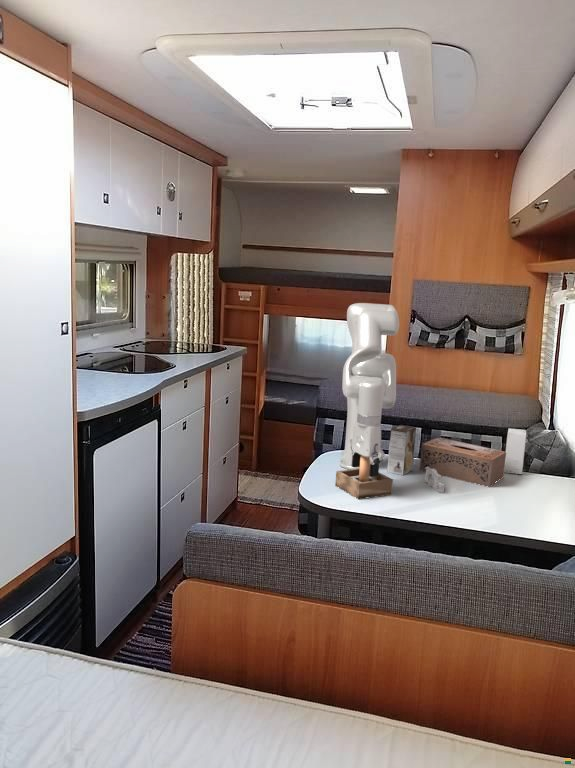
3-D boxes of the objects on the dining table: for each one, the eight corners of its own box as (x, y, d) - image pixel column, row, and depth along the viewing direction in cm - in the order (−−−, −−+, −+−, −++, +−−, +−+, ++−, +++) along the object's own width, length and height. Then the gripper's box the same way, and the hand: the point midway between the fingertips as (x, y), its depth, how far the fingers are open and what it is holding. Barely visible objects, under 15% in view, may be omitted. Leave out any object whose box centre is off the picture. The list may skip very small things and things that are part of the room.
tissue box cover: (502, 478, 220) (506, 451, 219) (489, 488, 209) (492, 459, 207) (435, 462, 235) (438, 437, 234) (419, 470, 224) (422, 443, 222)
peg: (356, 485, 199) (358, 450, 197) (364, 484, 201) (367, 449, 199) (362, 489, 196) (364, 452, 194) (370, 487, 198) (372, 451, 196)
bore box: (335, 485, 201) (336, 471, 200) (367, 481, 207) (368, 467, 206) (357, 499, 190) (359, 483, 189) (391, 494, 196) (392, 479, 195)
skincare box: (521, 475, 224) (527, 434, 221) (502, 472, 226) (507, 431, 224) (521, 469, 232) (526, 429, 229) (503, 466, 234) (508, 427, 231)
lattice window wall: (444, 493, 200) (446, 476, 199) (439, 493, 200) (441, 476, 199) (428, 481, 212) (429, 464, 211) (423, 481, 211) (424, 464, 210)
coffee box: (396, 466, 227) (400, 423, 224) (412, 469, 223) (416, 427, 221) (386, 472, 219) (390, 428, 216) (403, 475, 216) (407, 431, 213)
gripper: (343, 414, 200) (340, 464, 203) (375, 426, 185) (370, 481, 188) (362, 413, 204) (358, 462, 207) (395, 425, 189) (390, 478, 192)
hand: (364, 471), depth 197 cm, fingers open, 9 cm apart
